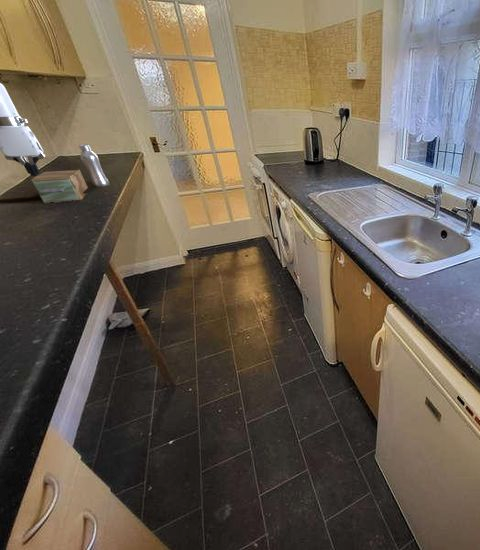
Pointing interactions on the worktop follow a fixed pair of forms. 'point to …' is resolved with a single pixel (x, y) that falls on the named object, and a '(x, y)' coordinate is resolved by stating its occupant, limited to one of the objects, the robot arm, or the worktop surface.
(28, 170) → the robot arm
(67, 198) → the drawer
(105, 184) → the silver metal bottle
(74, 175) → the cabinet
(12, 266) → the worktop surface
